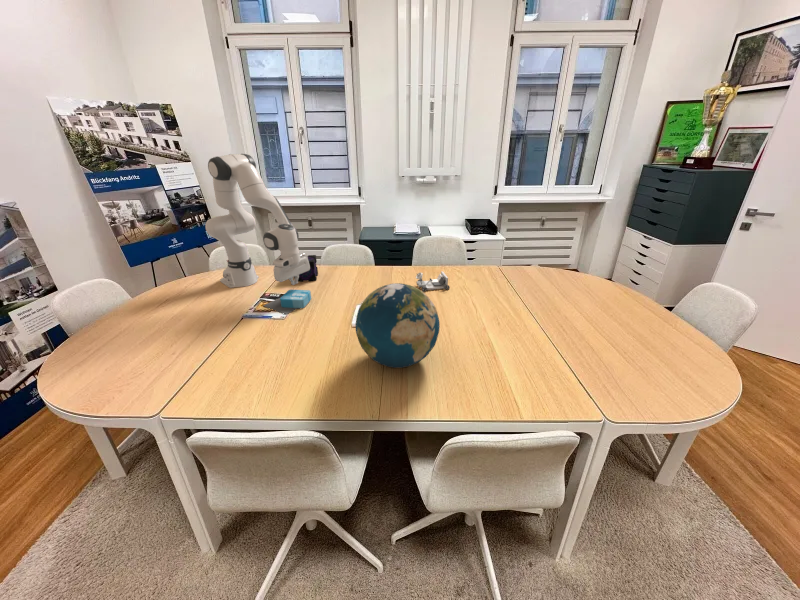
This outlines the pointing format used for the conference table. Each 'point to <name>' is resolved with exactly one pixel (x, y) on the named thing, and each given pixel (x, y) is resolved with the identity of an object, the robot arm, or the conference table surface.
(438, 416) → the conference table surface
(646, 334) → the conference table surface
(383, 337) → the globe
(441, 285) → the toy car
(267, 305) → the mat
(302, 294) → the light blue flat block
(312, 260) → the energy cube
